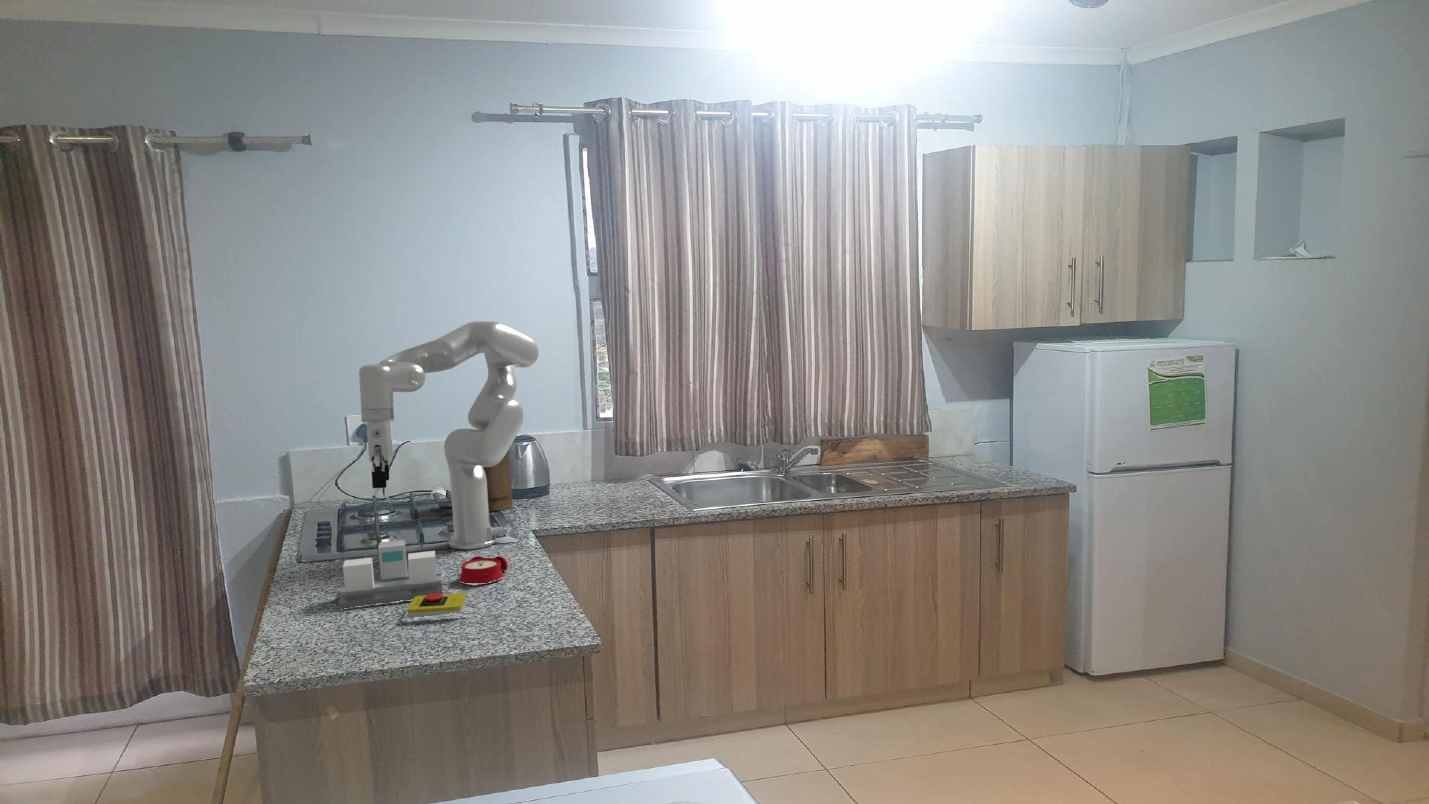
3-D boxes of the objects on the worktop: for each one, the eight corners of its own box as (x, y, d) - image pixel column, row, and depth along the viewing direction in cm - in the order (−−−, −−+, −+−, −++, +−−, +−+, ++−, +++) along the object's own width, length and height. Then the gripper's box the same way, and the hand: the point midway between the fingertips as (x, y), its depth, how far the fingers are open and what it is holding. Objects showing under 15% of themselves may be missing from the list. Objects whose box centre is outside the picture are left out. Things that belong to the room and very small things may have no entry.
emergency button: (407, 590, 214) (476, 586, 215) (409, 609, 215) (477, 605, 216) (398, 605, 205) (470, 600, 206) (399, 625, 205) (471, 620, 207)
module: (407, 570, 241) (404, 539, 240) (406, 576, 236) (404, 545, 235) (381, 573, 240) (379, 542, 239) (381, 580, 235) (378, 548, 234)
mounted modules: (436, 575, 229) (434, 550, 228) (437, 581, 224) (435, 556, 223) (346, 585, 223) (344, 560, 222) (345, 592, 218) (343, 566, 217)
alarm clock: (450, 573, 227) (470, 541, 241) (454, 596, 229) (474, 563, 243) (493, 573, 226) (511, 541, 240) (496, 596, 228) (514, 563, 242)
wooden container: (497, 499, 315) (492, 432, 312) (521, 506, 304) (517, 437, 301) (455, 507, 305) (450, 439, 302) (479, 515, 294) (474, 444, 291)
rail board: (441, 579, 234) (440, 569, 233) (442, 597, 220) (442, 586, 220) (344, 590, 227) (343, 580, 227) (340, 610, 214) (339, 599, 214)
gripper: (391, 418, 229) (394, 489, 231) (395, 410, 246) (399, 476, 247) (357, 420, 227) (361, 491, 229) (364, 411, 244) (368, 478, 245)
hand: (381, 484), depth 238 cm, fingers open, 9 cm apart
